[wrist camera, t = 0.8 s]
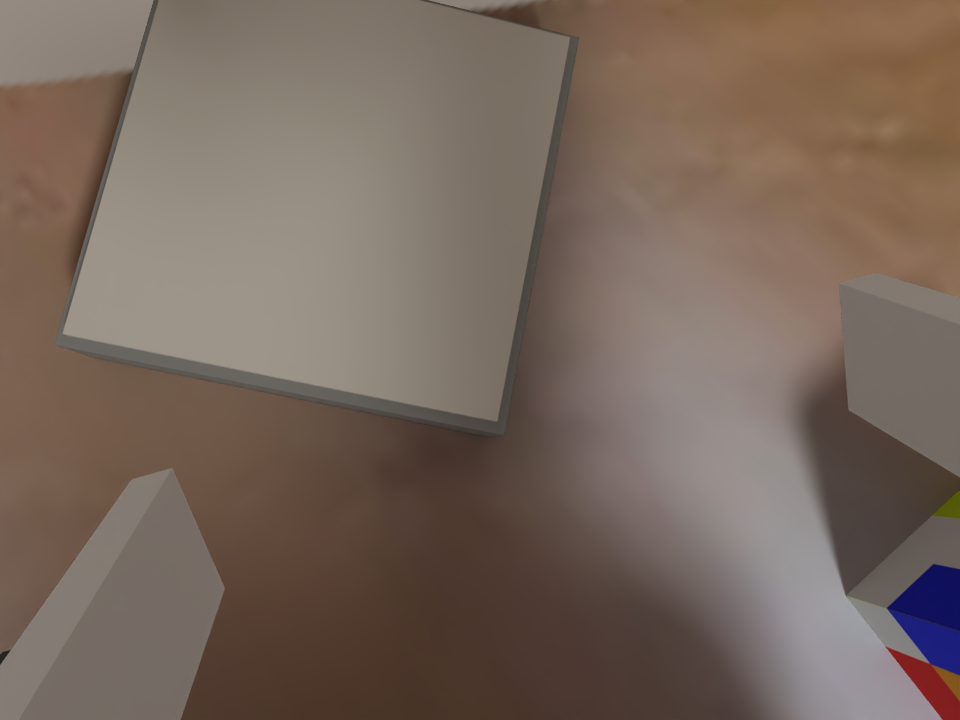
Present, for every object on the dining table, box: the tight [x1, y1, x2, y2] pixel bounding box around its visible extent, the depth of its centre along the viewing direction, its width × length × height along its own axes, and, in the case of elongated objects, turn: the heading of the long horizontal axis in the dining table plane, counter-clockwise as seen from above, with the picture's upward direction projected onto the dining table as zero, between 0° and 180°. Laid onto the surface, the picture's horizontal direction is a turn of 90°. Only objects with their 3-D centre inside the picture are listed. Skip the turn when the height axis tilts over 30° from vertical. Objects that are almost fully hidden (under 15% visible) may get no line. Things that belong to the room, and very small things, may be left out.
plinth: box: [54, 0, 579, 438], centre depth 35 cm, size 20×20×5 cm
